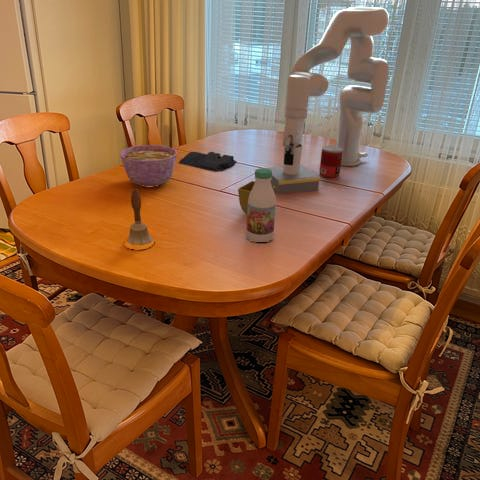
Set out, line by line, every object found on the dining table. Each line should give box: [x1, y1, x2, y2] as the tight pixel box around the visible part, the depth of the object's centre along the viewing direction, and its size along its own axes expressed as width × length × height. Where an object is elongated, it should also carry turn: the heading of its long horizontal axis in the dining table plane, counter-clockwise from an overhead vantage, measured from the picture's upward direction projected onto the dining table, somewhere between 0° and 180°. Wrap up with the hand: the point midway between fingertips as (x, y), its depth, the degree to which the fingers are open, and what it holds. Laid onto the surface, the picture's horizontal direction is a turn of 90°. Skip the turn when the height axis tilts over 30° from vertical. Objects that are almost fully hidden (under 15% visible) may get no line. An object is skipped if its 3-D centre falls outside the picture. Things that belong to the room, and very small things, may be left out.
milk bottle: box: [246, 167, 277, 243], centre depth 125 cm, size 8×8×20 cm
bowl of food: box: [119, 144, 178, 186], centre depth 164 cm, size 20×20×12 cm
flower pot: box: [237, 180, 275, 215], centre depth 143 cm, size 9×9×9 cm
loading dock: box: [264, 164, 321, 195], centre depth 168 cm, size 16×15×5 cm
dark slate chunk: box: [178, 151, 238, 173], centre depth 189 cm, size 15×22×5 cm
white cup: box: [282, 143, 303, 175], centre depth 165 cm, size 7×7×10 cm
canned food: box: [318, 145, 343, 179], centre depth 178 cm, size 8×8×11 cm
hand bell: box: [126, 188, 154, 246], centre depth 121 cm, size 8×8×16 cm
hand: (291, 160), depth 165 cm, fingers open, 9 cm apart
